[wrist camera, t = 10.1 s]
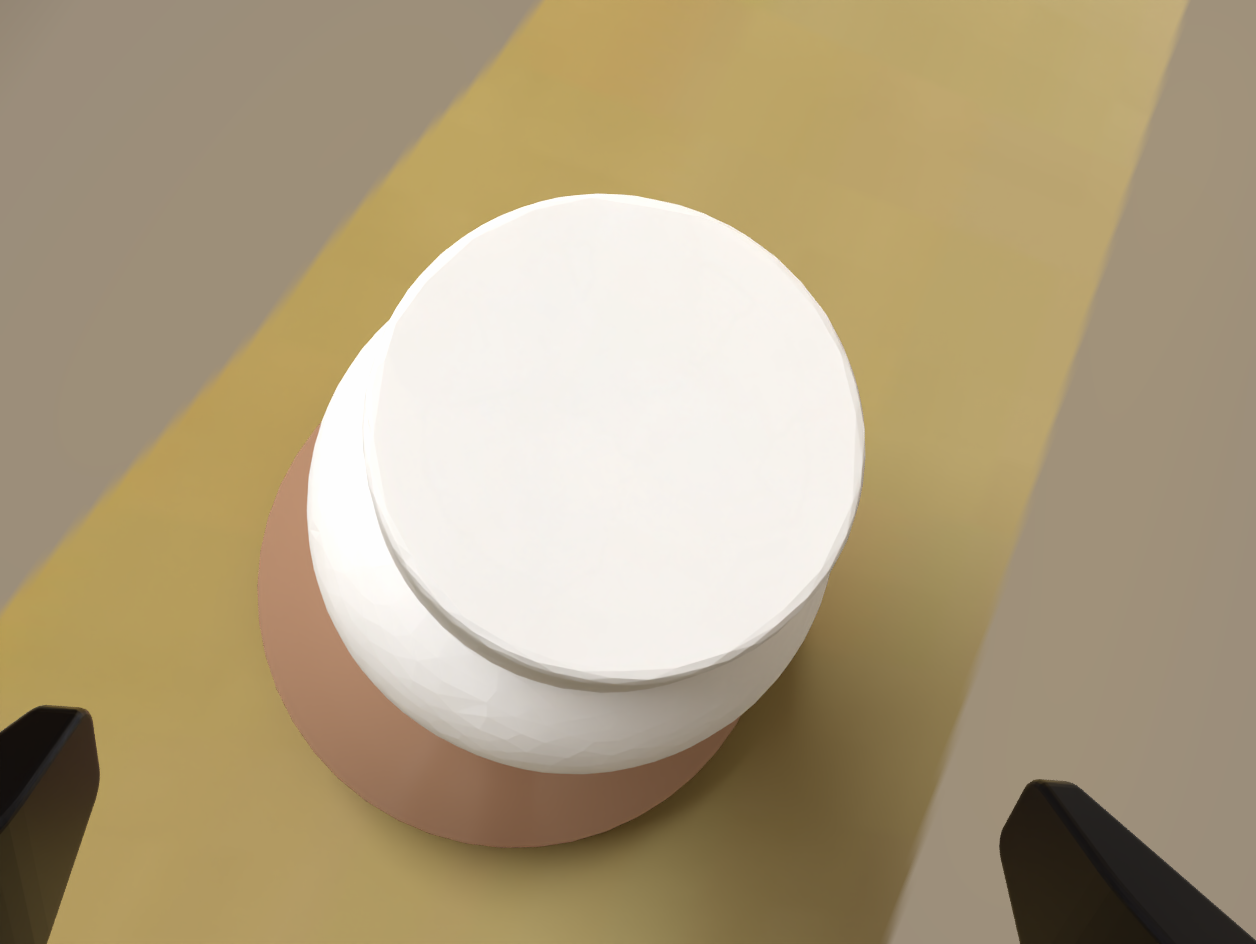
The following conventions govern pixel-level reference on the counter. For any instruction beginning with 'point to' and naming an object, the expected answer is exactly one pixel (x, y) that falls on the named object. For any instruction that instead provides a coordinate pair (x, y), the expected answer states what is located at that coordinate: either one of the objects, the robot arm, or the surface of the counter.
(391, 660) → the supplement bottle
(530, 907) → the counter surface
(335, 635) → the terracotta round disc
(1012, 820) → the robot arm
